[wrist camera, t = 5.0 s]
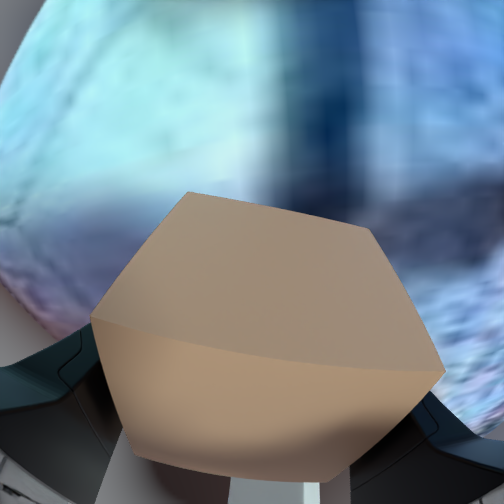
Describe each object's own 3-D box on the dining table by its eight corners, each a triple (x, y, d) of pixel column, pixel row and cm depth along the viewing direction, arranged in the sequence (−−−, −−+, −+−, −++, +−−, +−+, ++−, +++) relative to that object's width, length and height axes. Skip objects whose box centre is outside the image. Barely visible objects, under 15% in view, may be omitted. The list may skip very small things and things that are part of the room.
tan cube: (368, 228, 9) (445, 371, 4) (316, 352, 12) (327, 482, 7) (187, 191, 9) (89, 316, 4) (178, 328, 12) (134, 454, 7)
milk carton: (240, 396, 31) (220, 553, 15) (301, 385, 30) (303, 555, 13) (262, 423, 34) (251, 556, 18) (316, 414, 33) (320, 555, 16)
